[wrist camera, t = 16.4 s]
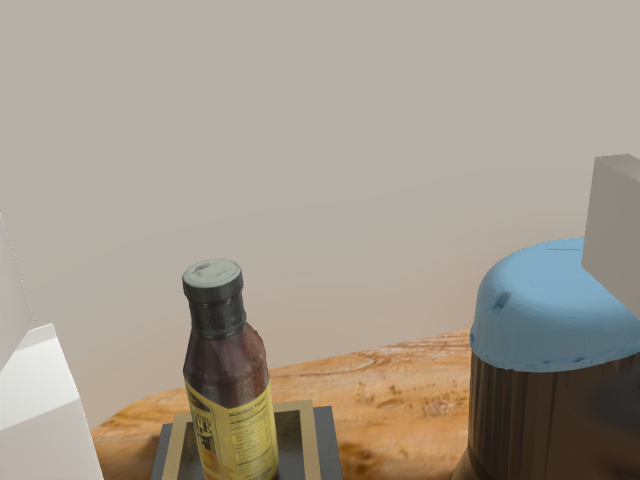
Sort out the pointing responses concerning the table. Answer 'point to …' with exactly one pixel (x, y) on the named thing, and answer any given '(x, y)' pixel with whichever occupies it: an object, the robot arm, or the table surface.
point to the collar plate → (292, 440)
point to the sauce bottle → (227, 378)
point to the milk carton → (43, 415)
